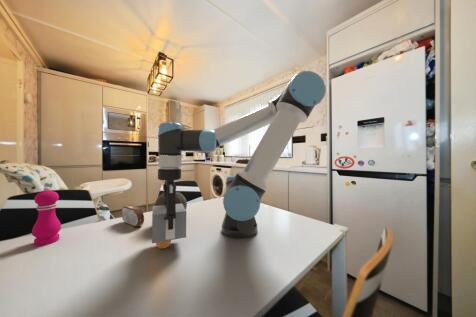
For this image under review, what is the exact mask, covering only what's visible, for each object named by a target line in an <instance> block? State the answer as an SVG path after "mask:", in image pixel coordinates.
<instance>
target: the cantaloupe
mask: <svg viewBox="0 0 476 317" xmlns="http://www.w3.org/2000/svg"><path fill="white" fill-rule="evenodd" d="M175 204H183V206H184V208H185V210H186V211H187V207H188V203H187V199H186V197H185V196H184V194H182V193H181V192H179V191H176V197H175ZM161 205H164V192H162V193H161V194H160V195H159V196H158V197H157V199H156V200H155V203H154V206H161Z"/></svg>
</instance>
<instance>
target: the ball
mask: <svg viewBox="0 0 476 317" xmlns="http://www.w3.org/2000/svg"><path fill="white" fill-rule="evenodd" d="M171 243H172V240H169V241H163V242H157V243H155V246H156V247H157V248H159V249H166V248H168V247H169V246H170V244H171Z"/></svg>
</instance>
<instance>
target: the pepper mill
mask: <svg viewBox="0 0 476 317" xmlns="http://www.w3.org/2000/svg"><path fill="white" fill-rule="evenodd" d="M59 199H60V196H59V194H58V192H56V191H53V190H51V187H50V186H45V187H43V191H41V192H38V193H37V194H36V195H35V196H34V203H35V204H36V211H37V212H38V216H37V219H36V222H35V224H34V225H33V227H32V229H31V234H32V236H33V237H34V240H33V245H34V246H37V247H38V246H40V247H41V246H42V247H43V246H47V245H49V244H53V243H55V242H58V241H59V240H60V231H61V230H62V223H61V221H60V220H59V218H58V217H57V215H56V214H57V213H56V208H57V207H58V206H57V205H58V203H57V202H58V200H59Z"/></svg>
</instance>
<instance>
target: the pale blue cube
mask: <svg viewBox="0 0 476 317" xmlns="http://www.w3.org/2000/svg"><path fill="white" fill-rule="evenodd" d="M151 213H152V215H151V216H152V217H151V220H152V221H151V223H152V224H151V229H152V230H151V237H152V238H151V244H156V243H157V242H163V241H169V240H171V241H174V240H178V239H184V238H187V209H186V210H185V208H184V206H183V204H176V218H175V238H174V239H168V240H166V220H164V217H167V216H166V205H161V206H152V212H151ZM170 215H173V214H170Z"/></svg>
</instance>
